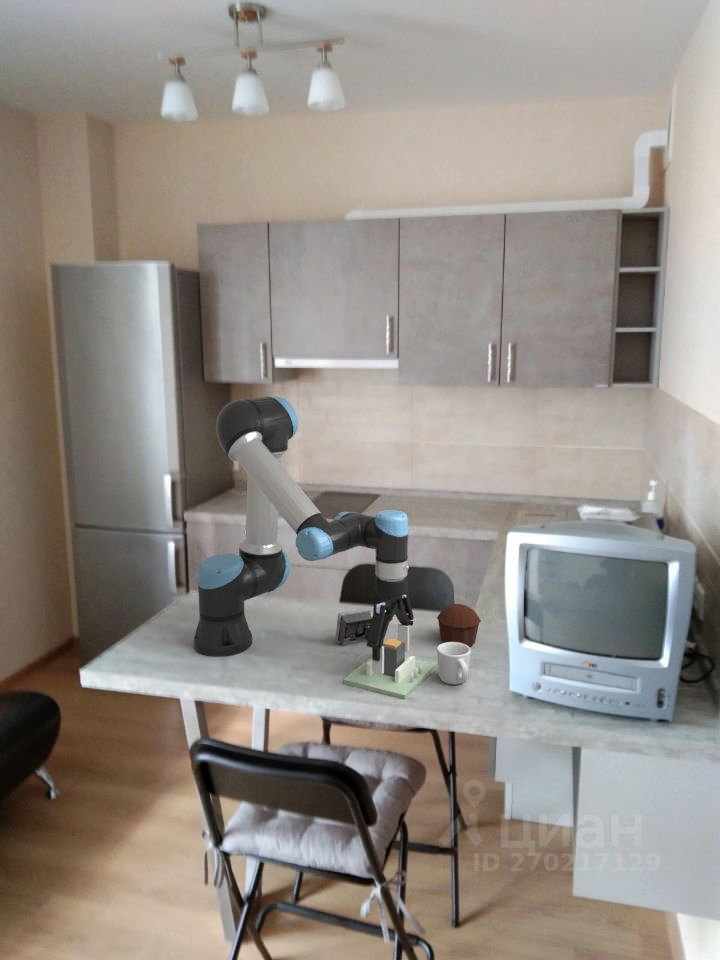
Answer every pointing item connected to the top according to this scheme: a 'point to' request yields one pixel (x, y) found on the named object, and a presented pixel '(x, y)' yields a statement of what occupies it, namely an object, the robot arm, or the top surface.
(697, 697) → the top surface
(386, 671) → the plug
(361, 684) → the board
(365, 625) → the electrical switch
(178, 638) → the top surface
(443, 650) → the cup
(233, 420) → the robot arm
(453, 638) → the muffin
